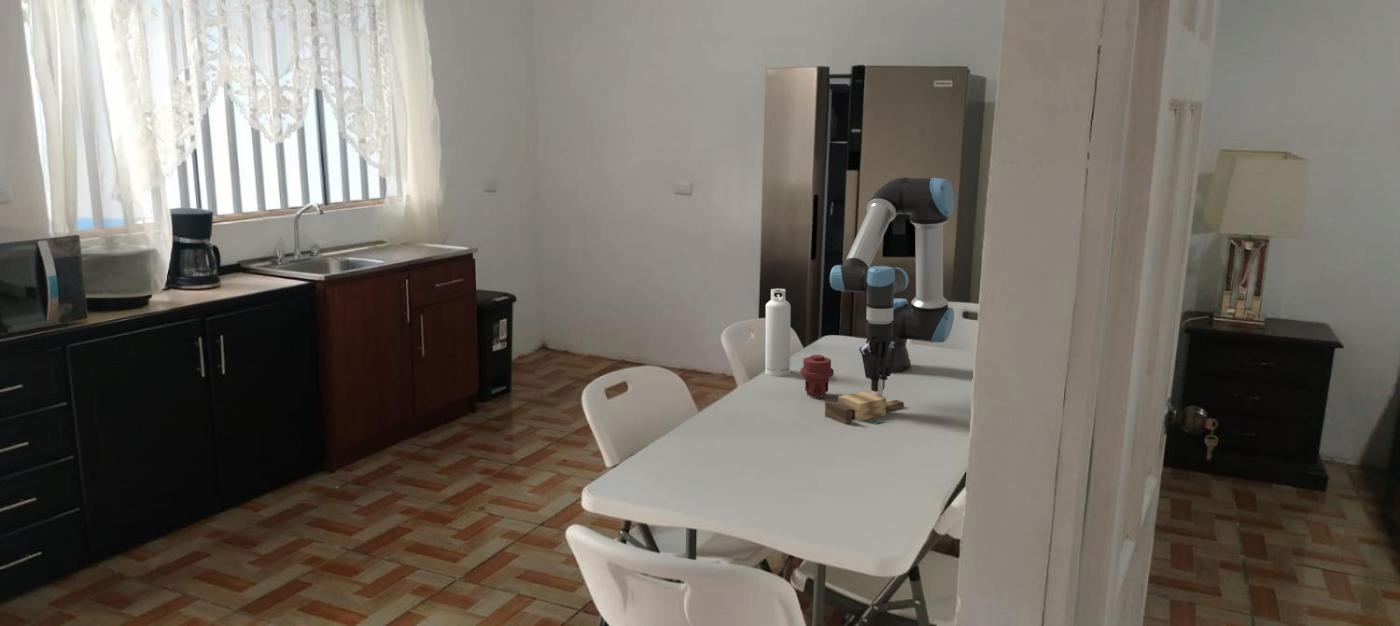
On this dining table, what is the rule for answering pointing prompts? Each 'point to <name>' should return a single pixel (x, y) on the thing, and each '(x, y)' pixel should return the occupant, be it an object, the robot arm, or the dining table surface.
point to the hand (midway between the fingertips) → (877, 401)
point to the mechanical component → (816, 375)
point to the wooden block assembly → (847, 414)
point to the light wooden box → (864, 405)
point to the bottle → (777, 335)
